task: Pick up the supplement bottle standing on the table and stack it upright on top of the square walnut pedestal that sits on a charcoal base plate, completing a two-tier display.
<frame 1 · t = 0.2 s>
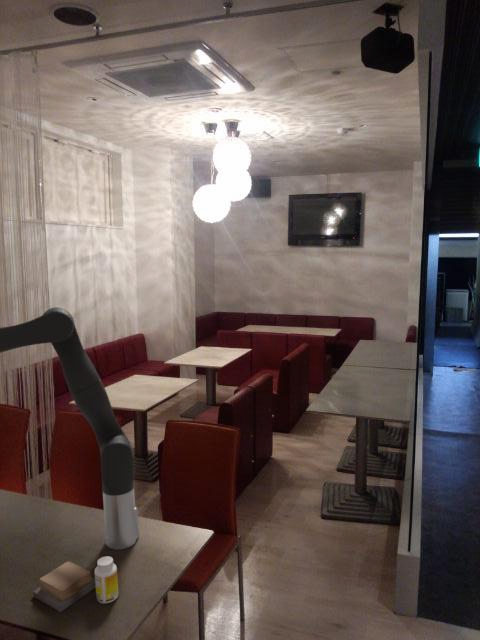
pedestal: (66, 590, 135), on the table
supplement bottle: (107, 598, 132), on the table
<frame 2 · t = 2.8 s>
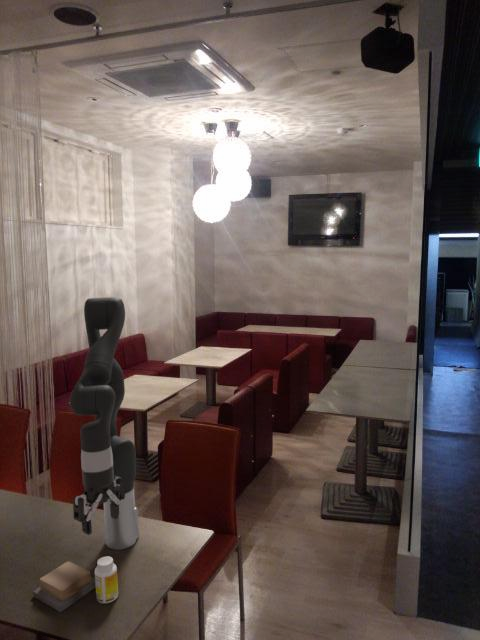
hand: (101, 525, 129), 20 cm above the table, tool pointing down, fingers open, 8 cm apart
nothing on the table moved.
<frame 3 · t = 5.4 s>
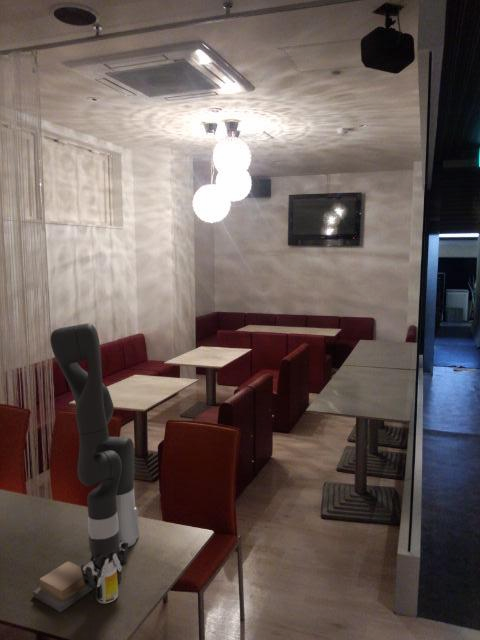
hand: (107, 590, 131), 2 cm above the table, tool pointing down, fingers closed on supplement bottle, 5 cm apart
supplement bottle: (107, 597, 132), on the table, touching gripper
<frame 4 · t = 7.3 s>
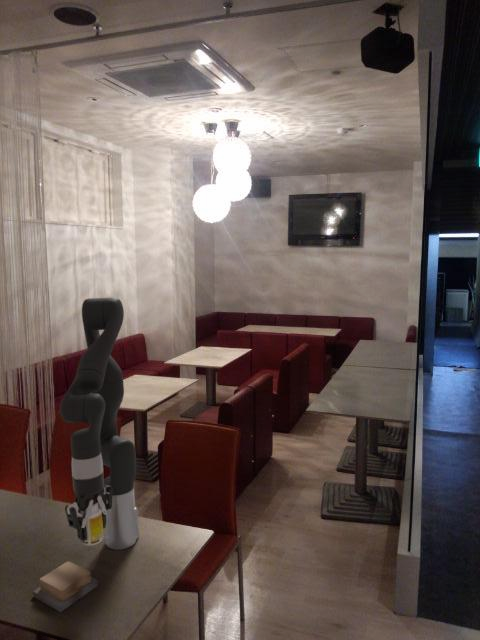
hand: (92, 533, 130), 17 cm above the table, tool pointing down, fingers closed on supplement bottle, 5 cm apart
supplement bottle: (92, 541, 131), point 15 cm above the table, touching gripper
when the fingers open (8 cm above the table, at t = 9.6 s): supplement bottle drops 1 cm, resting on pedestal.
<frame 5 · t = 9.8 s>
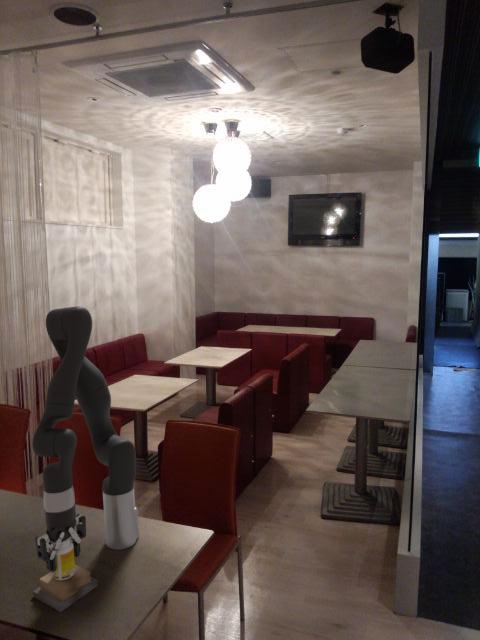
hand: (64, 563, 134), 8 cm above the table, tool pointing down, fingers open, 7 cm apart
supplement bottle: (64, 575, 134), point 4 cm above the table, touching pedestal
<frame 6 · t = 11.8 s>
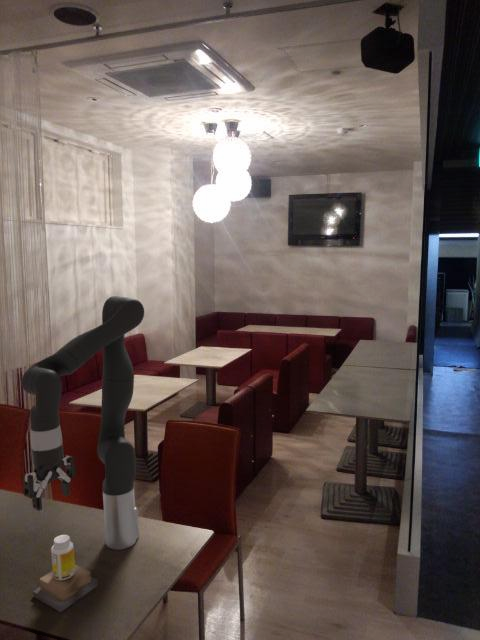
hand: (52, 502, 135), 23 cm above the table, tool pointing down, fingers open, 8 cm apart
nothing on the table moved.
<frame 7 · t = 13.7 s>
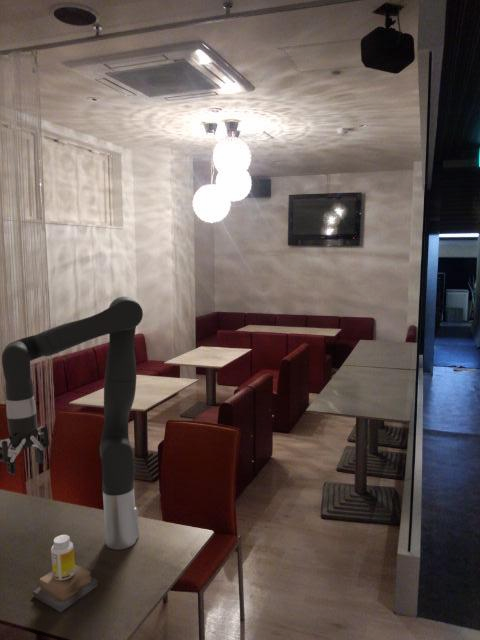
hand: (26, 468, 145), 28 cm above the table, tool pointing down, fingers open, 8 cm apart
nothing on the table moved.
at the end: supplement bottle 0.3 cm off-centre on the pedestal, point 4.3 cm above the pedestal's base; supplement bottle tilted 0°; the gripper is holding nothing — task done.
